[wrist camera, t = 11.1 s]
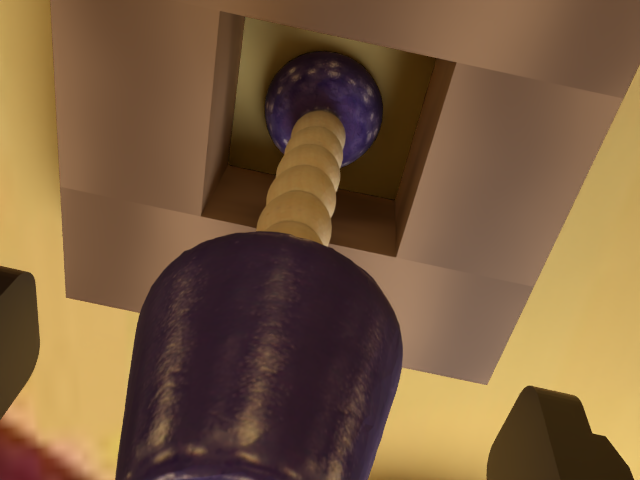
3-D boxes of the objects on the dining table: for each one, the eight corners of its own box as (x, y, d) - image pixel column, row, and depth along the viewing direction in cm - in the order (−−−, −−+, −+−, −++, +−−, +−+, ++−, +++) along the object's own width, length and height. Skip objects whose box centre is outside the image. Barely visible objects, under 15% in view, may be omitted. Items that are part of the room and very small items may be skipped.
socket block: (651, -102, 17) (714, -93, 14) (474, 317, 26) (487, 384, 23) (106, -224, 17) (37, -245, 14) (108, 240, 26) (66, 297, 22)
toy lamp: (266, 29, 20) (-5, 401, 6) (404, 40, 20) (436, 453, 6) (265, 158, 23) (71, 627, 9) (387, 169, 23) (384, 669, 9)
